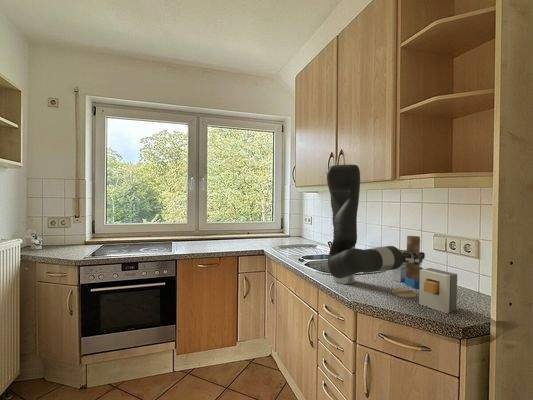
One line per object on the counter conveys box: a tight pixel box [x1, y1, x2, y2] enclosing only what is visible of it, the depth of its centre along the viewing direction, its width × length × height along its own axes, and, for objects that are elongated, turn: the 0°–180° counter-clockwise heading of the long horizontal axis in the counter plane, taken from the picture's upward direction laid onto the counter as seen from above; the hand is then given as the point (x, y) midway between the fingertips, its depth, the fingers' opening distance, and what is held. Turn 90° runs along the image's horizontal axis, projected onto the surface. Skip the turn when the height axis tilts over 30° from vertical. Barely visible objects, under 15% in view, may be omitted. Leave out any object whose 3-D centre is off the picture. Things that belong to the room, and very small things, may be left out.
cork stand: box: [391, 288, 417, 299], centre depth 124 cm, size 9×9×1 cm
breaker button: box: [424, 280, 439, 294], centre depth 108 cm, size 3×4×3 cm
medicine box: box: [391, 264, 406, 283], centre depth 146 cm, size 8×4×9 cm, turn 126°
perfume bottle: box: [404, 263, 424, 290], centre depth 136 cm, size 6×6×12 cm
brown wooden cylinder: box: [406, 235, 421, 279], centre depth 102 cm, size 4×4×14 cm
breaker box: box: [418, 267, 458, 314], centre depth 110 cm, size 10×6×13 cm, turn 29°
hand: (417, 254), depth 104 cm, fingers closed on brown wooden cylinder, 4 cm apart
